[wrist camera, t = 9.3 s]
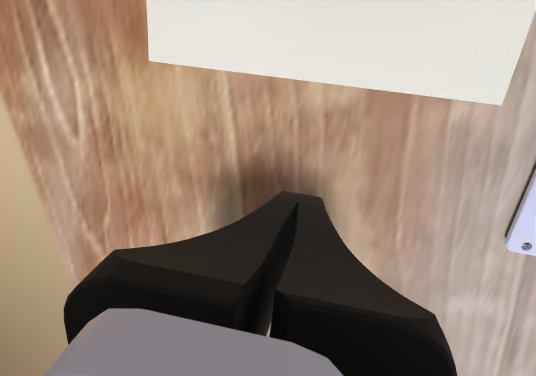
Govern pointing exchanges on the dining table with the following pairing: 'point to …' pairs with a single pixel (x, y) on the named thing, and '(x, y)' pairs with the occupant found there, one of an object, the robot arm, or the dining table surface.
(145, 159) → the dining table surface
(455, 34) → the base
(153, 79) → the dining table surface
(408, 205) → the dining table surface
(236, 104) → the dining table surface
